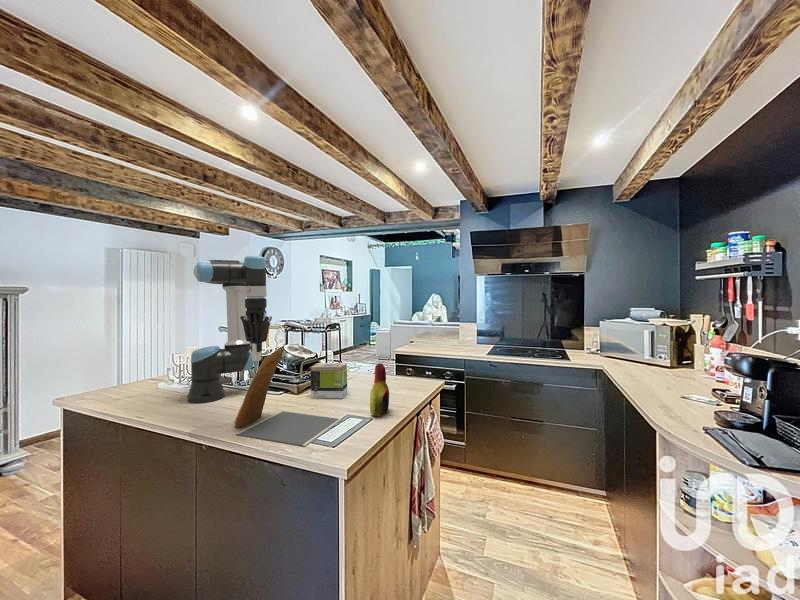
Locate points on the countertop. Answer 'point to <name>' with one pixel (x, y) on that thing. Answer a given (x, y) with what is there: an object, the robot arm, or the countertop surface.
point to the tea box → (329, 380)
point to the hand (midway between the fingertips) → (256, 360)
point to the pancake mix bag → (258, 391)
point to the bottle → (379, 392)
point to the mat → (290, 428)
